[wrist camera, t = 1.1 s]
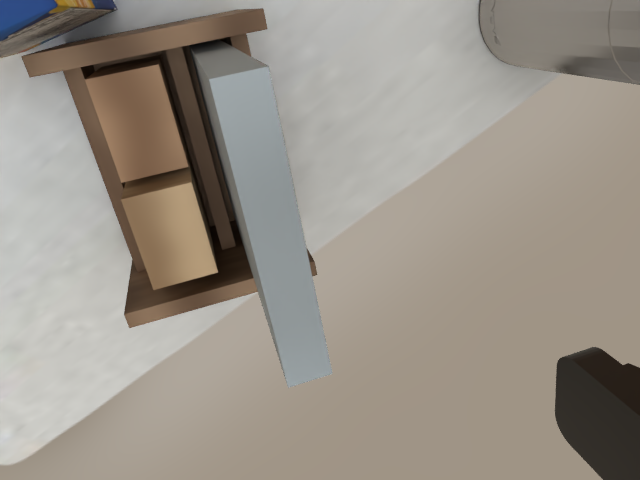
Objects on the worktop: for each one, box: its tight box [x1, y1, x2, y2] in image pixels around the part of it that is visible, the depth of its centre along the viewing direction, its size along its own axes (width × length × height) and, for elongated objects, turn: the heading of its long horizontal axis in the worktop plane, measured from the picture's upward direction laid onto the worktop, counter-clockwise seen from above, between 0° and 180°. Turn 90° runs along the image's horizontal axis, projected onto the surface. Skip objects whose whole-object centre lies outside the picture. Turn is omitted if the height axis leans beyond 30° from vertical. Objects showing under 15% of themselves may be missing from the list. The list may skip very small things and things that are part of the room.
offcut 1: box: [85, 55, 189, 183], centre depth 34 cm, size 4×6×8 cm, turn 11°
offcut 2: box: [121, 144, 218, 290], centre depth 36 cm, size 4×6×10 cm, turn 10°
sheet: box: [189, 39, 332, 387], centre depth 30 cm, size 2×13×22 cm, turn 10°
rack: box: [21, 9, 317, 328], centre depth 35 cm, size 12×16×12 cm
